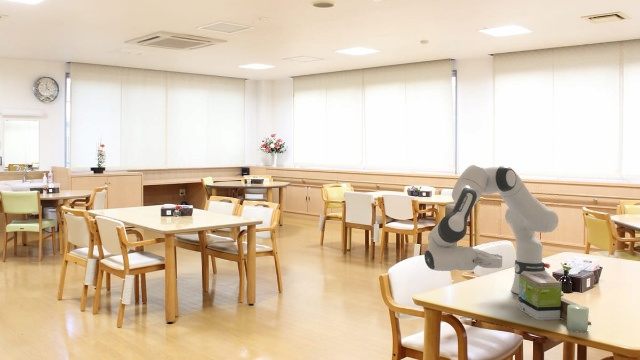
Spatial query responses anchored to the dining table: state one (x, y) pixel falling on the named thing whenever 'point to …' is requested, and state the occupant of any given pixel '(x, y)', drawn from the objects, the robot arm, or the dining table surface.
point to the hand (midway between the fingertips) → (500, 257)
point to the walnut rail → (564, 308)
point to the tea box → (540, 296)
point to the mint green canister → (577, 318)
